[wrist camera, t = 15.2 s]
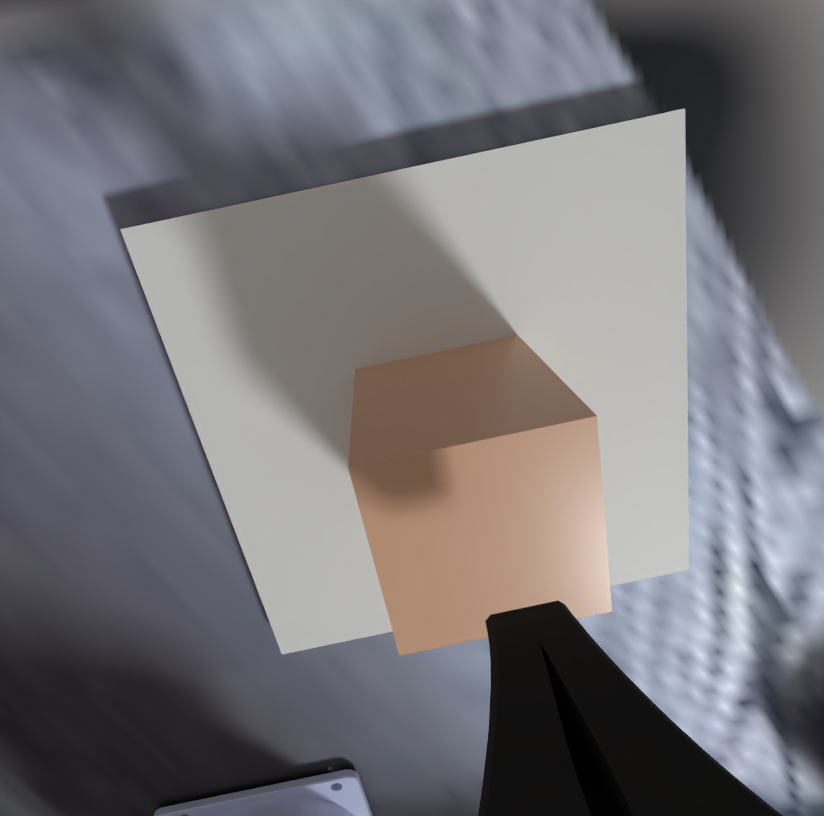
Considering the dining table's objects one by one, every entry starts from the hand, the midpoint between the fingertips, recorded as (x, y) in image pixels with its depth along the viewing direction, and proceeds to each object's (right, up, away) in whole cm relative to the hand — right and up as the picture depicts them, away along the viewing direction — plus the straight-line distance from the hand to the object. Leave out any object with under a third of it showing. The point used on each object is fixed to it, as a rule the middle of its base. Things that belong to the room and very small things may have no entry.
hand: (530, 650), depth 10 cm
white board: (-1, +4, +10) cm, 10 cm away
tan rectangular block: (-1, +4, +9) cm, 9 cm away
